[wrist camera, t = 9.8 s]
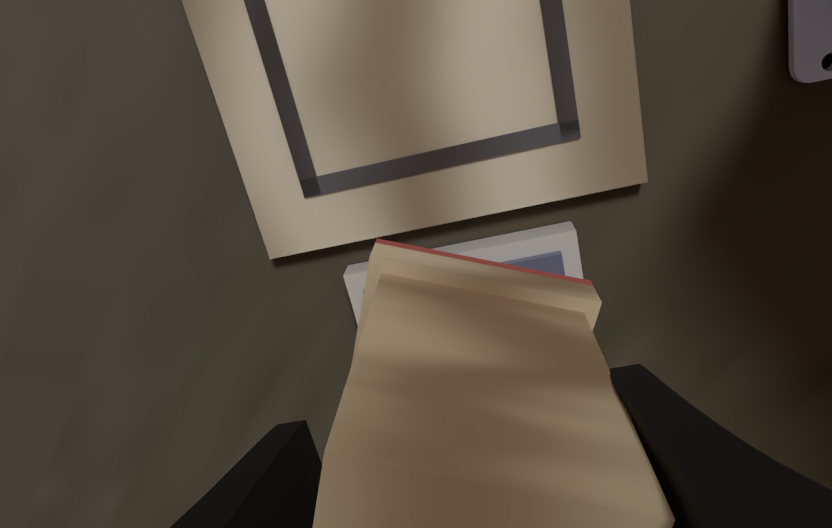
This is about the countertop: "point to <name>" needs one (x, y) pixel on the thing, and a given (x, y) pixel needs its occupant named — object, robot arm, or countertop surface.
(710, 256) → the countertop surface
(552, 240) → the ink pad
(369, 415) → the stamp
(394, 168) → the marked board
